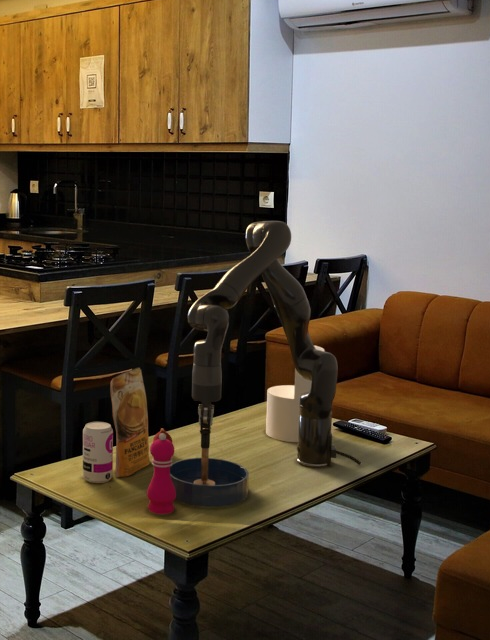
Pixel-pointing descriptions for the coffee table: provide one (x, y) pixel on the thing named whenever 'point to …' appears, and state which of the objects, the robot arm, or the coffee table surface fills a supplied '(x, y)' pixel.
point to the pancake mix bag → (130, 422)
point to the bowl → (224, 492)
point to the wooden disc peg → (204, 468)
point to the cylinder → (286, 408)
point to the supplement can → (97, 452)
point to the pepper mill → (161, 477)
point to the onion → (164, 433)
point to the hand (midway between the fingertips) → (205, 446)
